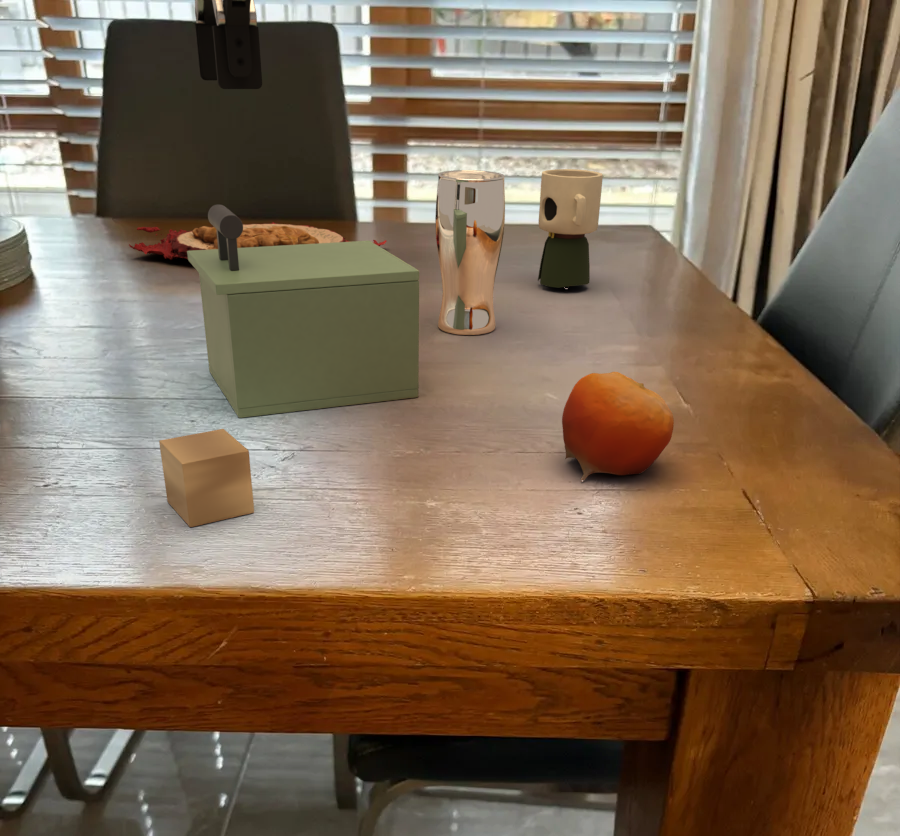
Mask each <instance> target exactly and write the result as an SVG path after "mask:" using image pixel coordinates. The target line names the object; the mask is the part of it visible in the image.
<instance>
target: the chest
mask: <svg viewBox="0 0 900 836" xmlns="http://www.w3.org/2000/svg"><path fill="white" fill-rule="evenodd" d="M198 277H199V288H200V295H201V305H202V314H203V323H204V335H205V344H206V353H207V362H208V371H209V373H210V375H211V376H212V378H213V379H214V381H215V383H216V384H217V386H218V388H219V389H220V390H221V392H222V394H223V395H224V397H225V398H226V400H227V401H228V404H229V405H230V407H231V408H232V410H233V411H234V413H235V414H236V416H237V418H238V419H242V418H249V417H259V416H266V415H267V416H268V415H276V414H285V413H293V412H302V411H311V410H319V409H328V408H336V407H337V408H338V407H344V406H345V407H346V406H356V405H363V404H371V403H379V402H387V401H389V402H390V401H398V400H405V399H416V398H419V386H420V385H419V382H420V381H419V380H420V379H419V378H420V377H419V376H420V375H419V372H420V371H419V370H420V369H419V368H420V365H419V363H420V359H419V358H420V280H418V281H404V282H390V283H376V284H363V285H349V286H335V287H321V288H307V289H293V290H279V291H265V292H251V293H237V294H223V295H217V294H216V293H215V292H214V291H213V290H212V288H211V287H210V286H209V285H208V283H207V282H206V281H205V280H204V279H203V277H202V276H201V275H200V274H199V273H198Z"/></svg>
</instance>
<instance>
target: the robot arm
mask: <svg viewBox="0 0 900 836" xmlns="http://www.w3.org/2000/svg"><path fill="white" fill-rule="evenodd" d="M194 17H195V22H194V33H195V45H196V52H197V63H198V72H199V73H198V74H199V77H200V79H201V80H203V81H217V85H218V87H219V88H220V89H223V90H259V89H261V88H262V86H263V75H262V74H263V73H262V59H261V43H260V32H259V30H260V29H259V26H257V23H258V18H257V17H258V16H257V10H256V6H255V0H194Z"/></svg>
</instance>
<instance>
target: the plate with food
mask: <svg viewBox="0 0 900 836" xmlns="http://www.w3.org/2000/svg"><path fill="white" fill-rule="evenodd" d="M242 224H243V232H242V234H241V235H240V236H239V237H238V238H237V248H246V247H264V246H282V245H300V244H318V243H336V242H351V241H349V240H347V239H346V237H343V236H342V235H341V234H339V233H337V232H336V231H334V230H331V229H328V228H327V229H326V228H318V227H315V226H310V225H309V224H307V225H305V224H303V225H302V224H300V225H296V224H291V223H290V224H289V223H286V224H285V223H284V224H283V223H276V222H274V221H272V222H271V223H249V224H245V223H242ZM162 230H163V229H162V228H159V227H158V226H153V227H152V226H141V227H140V226H138V227H137V228H136V231H144V232H146V233H149V234H150V233H154V232H159V231H162ZM155 236H156V237H157V236H158V233H156V234H155ZM160 236H163V234H160ZM372 242H373V243H374V244H376V245H378V246H379V247H381V246H384V245H385V244H386V243H387V242H388V241H387V240H386V239H385V240H384V241H381V242H378V241H377V240H376V239H373V240H372ZM128 246H129V248H131V249H132V250H135V251H138V252H141V253H144V255H147V254H152V255H153V256H154V255H158V256H159V255H160V256H163V258H164V259H166V260H167V259H169V260H170V261H172V260H173V259H181V258H182V259H186V260H188V255H187V251H193V250H210V249H218V242H217V231H216V228H215V227H214V226H207V225H203V226H200V227H199V228H198V227H195V228H194V229H193V230H186V229H184V230H183V229H181V228H180V229H179V231H177V230H176V229H175V230H173V229H172V228H171V229H169V230H168V233H167V234H166V237H164V238H162V239H160V242H158V243H155V244H149V245H146V244H145V242H142V241H141V242H139V243H134V245H131V244H130V243H128Z"/></svg>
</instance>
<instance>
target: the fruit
mask: <svg viewBox="0 0 900 836" xmlns="http://www.w3.org/2000/svg"><path fill="white" fill-rule="evenodd" d="M662 397H663V396H661V395H660V394H659V393H657V392H655V391H654V390H651V389H649V388H646V387H645V385H644V383H642V382H638V381H636V380H634V379H633V378H631V377H628V376H627V375H625V374H623V373H621V372H619V371H611V372H606V373H605V372H604V373H600V372H599V373H598V372H592V373H589V374H586V375H584V376H583V377H581V378H580V379H578V381H576V383H575V384H574V386H573V388H572V389H571V391H570V393H569V395H568V398H567V400H566V401H565V404H564V408H563V411H562V415H561V416H562V417H561V425H562V426H561V427H562V439H563V444H564V450H565V459H564V460H566V459H571V458H572V459H576V460H577V462H578V464H579V465H580V468H581V471H582V473H583V475H582V476H581V478H580V480H584V481H585V480H586V479H587V478H588V476H590V475H592V474H596V473H597V474H598V473H604V474H610V475H611V474H612V475H616V476H629V475H640V474H639V473H641V474H642V473H644V472H645V471H647V470H648V469H649V468H650V467H651V466H652V465H653V464H654V463H655V461H656V460H657V459H658V458H659V457H660V455H661V454H662V452H663V451H664V450H665V449H666V447H668V445H669V443H670V442H671V440H672V437H673V432H674V426H675V420H674V415H673V412H672V411H671V409H670V408H669V406H668V404H667V403H666V400H665V399H664V398H662Z"/></svg>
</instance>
